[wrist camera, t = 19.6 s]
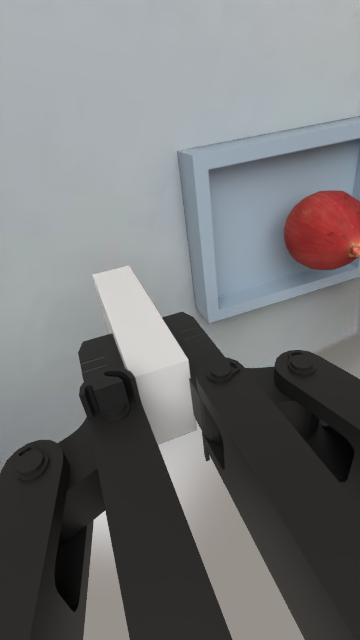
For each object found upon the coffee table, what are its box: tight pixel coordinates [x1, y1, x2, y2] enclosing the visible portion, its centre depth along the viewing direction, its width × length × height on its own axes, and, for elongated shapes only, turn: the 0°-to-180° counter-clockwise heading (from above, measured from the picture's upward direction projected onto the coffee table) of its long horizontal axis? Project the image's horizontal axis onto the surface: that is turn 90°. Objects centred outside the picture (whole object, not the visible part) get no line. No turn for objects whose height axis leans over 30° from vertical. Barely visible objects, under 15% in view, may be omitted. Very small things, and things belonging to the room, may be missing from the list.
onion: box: [284, 190, 360, 270], centre depth 26 cm, size 6×6×8 cm
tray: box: [177, 116, 360, 323], centre depth 28 cm, size 16×13×3 cm
